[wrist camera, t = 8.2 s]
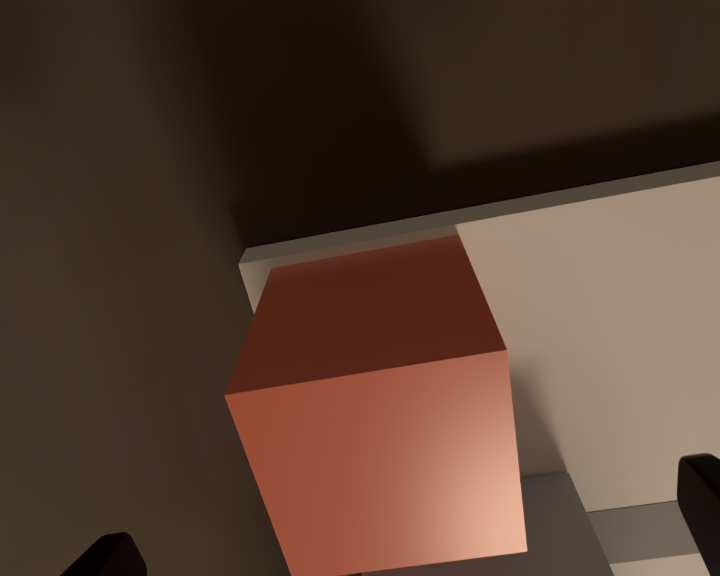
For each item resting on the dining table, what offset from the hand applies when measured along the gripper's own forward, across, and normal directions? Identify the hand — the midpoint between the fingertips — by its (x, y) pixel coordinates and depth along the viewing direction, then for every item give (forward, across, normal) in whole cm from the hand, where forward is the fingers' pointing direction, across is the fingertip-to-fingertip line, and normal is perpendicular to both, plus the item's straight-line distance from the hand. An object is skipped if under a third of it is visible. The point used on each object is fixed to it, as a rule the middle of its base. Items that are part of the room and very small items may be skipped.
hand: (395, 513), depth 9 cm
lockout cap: (+6, 0, 0) cm, 6 cm away
